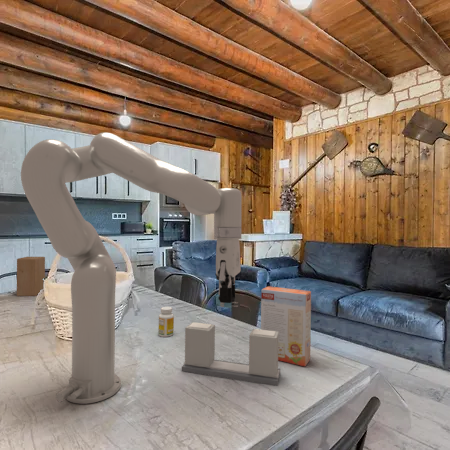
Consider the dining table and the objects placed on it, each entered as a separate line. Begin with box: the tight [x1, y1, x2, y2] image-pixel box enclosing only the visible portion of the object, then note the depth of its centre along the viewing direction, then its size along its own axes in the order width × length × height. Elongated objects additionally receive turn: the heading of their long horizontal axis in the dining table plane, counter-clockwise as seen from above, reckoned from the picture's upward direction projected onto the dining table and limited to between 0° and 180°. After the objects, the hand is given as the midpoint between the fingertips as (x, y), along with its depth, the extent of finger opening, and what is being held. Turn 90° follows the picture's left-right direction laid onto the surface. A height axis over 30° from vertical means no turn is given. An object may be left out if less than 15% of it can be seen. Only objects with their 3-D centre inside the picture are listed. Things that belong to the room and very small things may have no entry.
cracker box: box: [260, 285, 312, 367], centre depth 95 cm, size 14×6×21 cm, turn 59°
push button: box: [214, 272, 239, 309], centre depth 86 cm, size 7×5×10 cm
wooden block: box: [16, 256, 46, 297], centre depth 171 cm, size 10×10×20 cm
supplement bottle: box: [158, 306, 175, 338], centre depth 113 cm, size 5×5×10 cm
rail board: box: [181, 321, 281, 387], centre depth 86 cm, size 7×26×12 cm, turn 74°
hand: (227, 299), depth 86 cm, fingers closed on push button, 3 cm apart
